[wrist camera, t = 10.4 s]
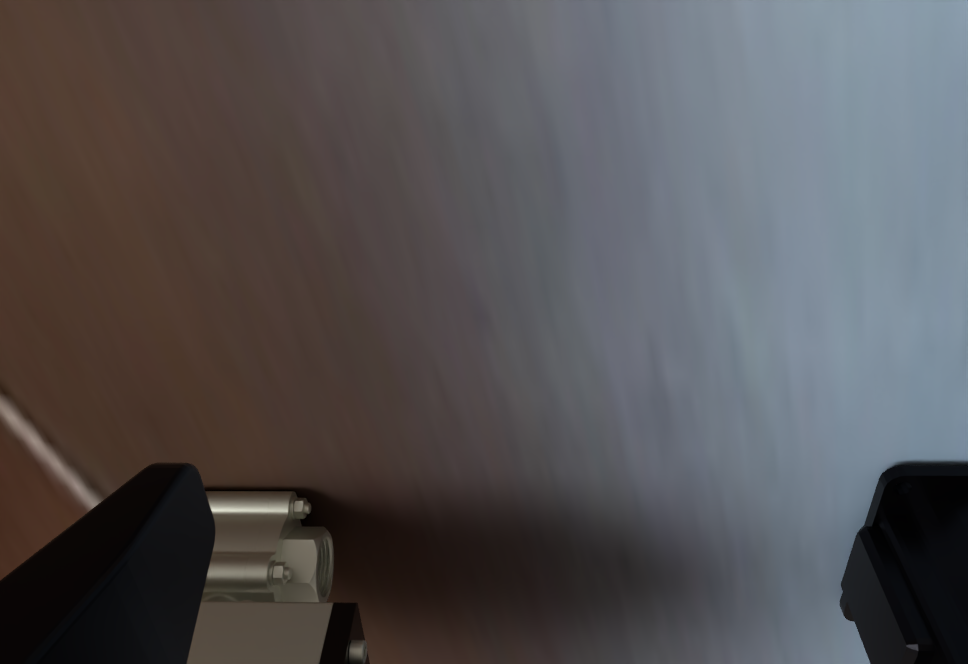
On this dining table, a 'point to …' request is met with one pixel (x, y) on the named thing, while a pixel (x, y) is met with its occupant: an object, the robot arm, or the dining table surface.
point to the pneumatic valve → (272, 588)
